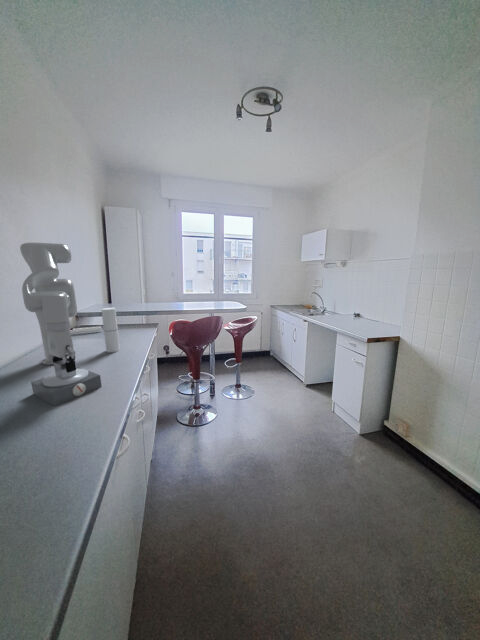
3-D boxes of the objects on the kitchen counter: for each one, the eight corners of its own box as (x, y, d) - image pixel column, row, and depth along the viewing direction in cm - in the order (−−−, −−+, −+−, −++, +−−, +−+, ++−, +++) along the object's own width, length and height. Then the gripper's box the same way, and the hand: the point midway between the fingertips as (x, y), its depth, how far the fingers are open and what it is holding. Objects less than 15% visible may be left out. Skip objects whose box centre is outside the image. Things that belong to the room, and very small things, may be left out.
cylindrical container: (106, 353, 143) (101, 310, 138) (106, 349, 150) (101, 308, 145) (120, 351, 147) (115, 309, 142) (119, 347, 153) (115, 307, 148)
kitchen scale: (33, 393, 97) (30, 379, 96) (79, 377, 111) (77, 364, 110) (55, 406, 88) (52, 390, 87) (102, 386, 102) (100, 373, 101)
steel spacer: (56, 377, 98) (53, 362, 97) (69, 372, 102) (67, 358, 101) (62, 379, 95) (60, 364, 94) (76, 375, 100) (74, 360, 98)
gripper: (36, 325, 96) (43, 367, 99) (58, 331, 87) (65, 377, 91) (58, 322, 102) (64, 361, 106) (80, 327, 93) (86, 369, 97)
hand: (65, 368), depth 98 cm, fingers open, 9 cm apart
